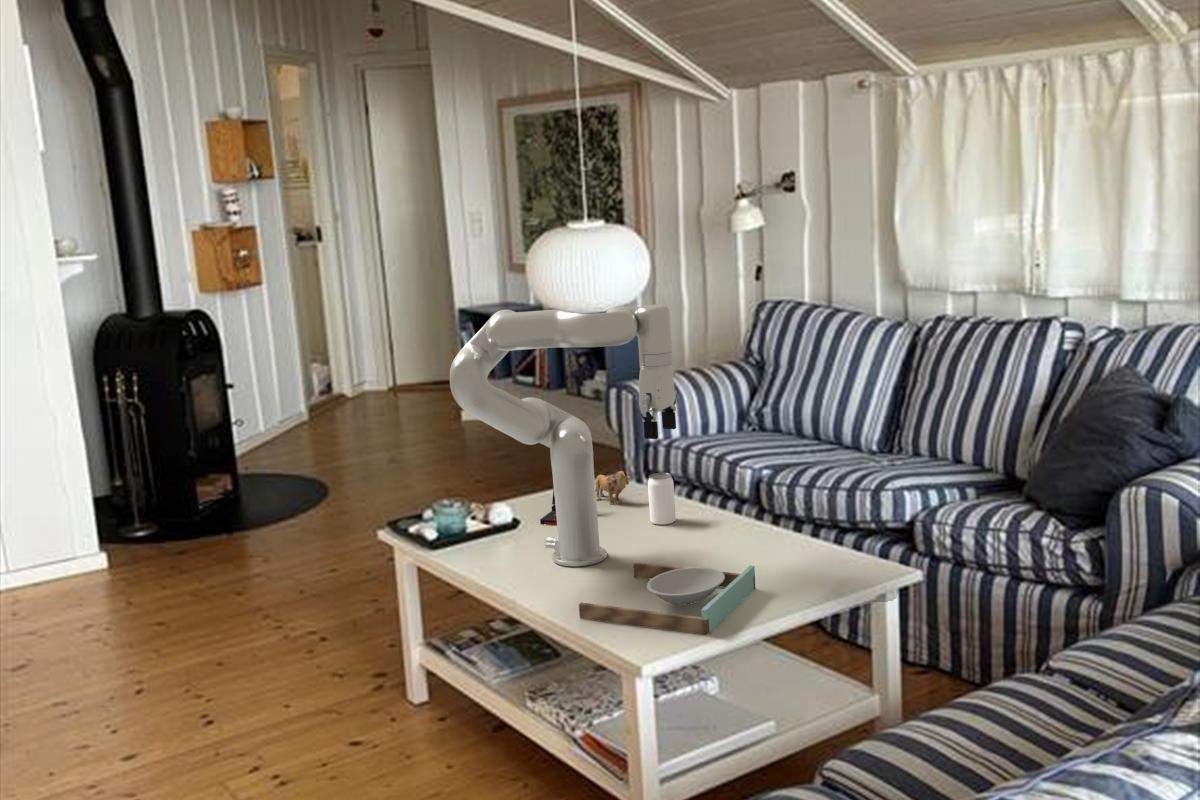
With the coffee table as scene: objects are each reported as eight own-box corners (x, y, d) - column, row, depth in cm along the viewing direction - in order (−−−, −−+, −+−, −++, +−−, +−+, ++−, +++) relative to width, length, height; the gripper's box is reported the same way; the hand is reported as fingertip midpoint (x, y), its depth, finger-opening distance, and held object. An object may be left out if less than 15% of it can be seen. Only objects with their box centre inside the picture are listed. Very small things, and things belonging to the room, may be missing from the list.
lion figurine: (634, 502, 325) (632, 470, 323) (620, 507, 321) (617, 474, 319) (597, 494, 335) (595, 462, 334) (583, 498, 332) (580, 467, 330)
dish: (691, 584, 261) (689, 562, 260) (742, 598, 250) (740, 575, 249) (632, 608, 249) (630, 585, 248) (683, 624, 239) (681, 600, 238)
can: (676, 524, 303) (673, 478, 300) (650, 526, 303) (647, 480, 301) (675, 517, 309) (672, 471, 307) (650, 518, 309) (646, 473, 307)
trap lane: (579, 618, 246) (578, 594, 245) (636, 575, 268) (634, 554, 267) (707, 634, 233) (706, 610, 232) (755, 588, 255) (754, 566, 254)
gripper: (657, 353, 283) (661, 424, 286) (624, 366, 268) (629, 441, 272) (686, 353, 280) (690, 425, 283) (654, 367, 265) (659, 443, 268)
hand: (660, 433), depth 277 cm, fingers open, 9 cm apart
